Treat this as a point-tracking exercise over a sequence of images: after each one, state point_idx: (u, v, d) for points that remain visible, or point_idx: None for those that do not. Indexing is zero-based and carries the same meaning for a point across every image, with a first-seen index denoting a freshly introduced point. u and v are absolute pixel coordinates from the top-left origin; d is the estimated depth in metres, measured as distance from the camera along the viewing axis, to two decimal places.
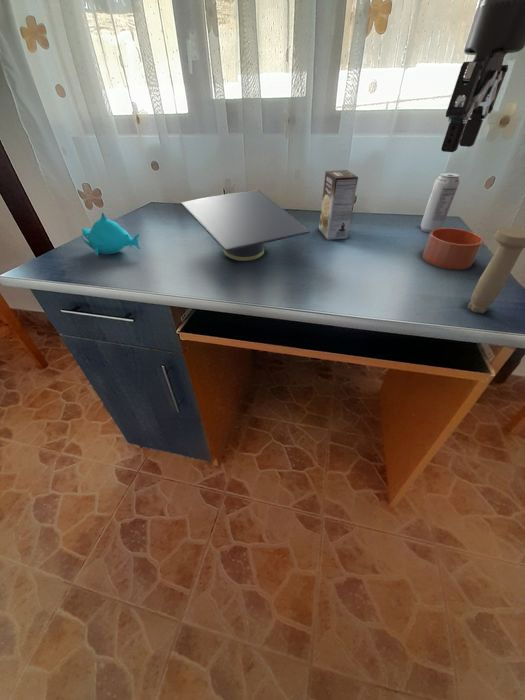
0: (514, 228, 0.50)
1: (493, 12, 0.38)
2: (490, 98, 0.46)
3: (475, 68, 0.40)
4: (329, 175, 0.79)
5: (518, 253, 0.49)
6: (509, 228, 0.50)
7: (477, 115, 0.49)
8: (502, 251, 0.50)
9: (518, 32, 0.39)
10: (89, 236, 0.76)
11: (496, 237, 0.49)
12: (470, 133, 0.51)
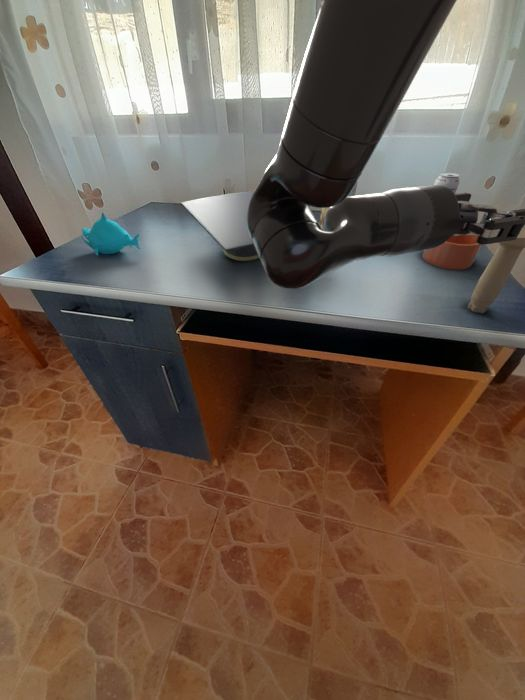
0: None
1: (434, 234, 0.35)
2: None
3: (495, 227, 0.33)
4: None
5: (518, 253, 0.49)
6: None
7: None
8: (502, 251, 0.50)
9: (448, 197, 0.34)
10: (89, 236, 0.76)
11: None
12: None
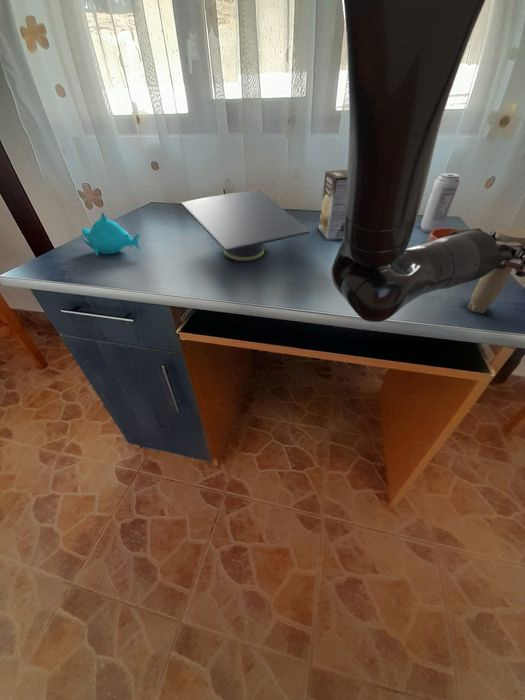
0: (514, 228, 0.50)
1: (479, 271, 0.43)
2: None
3: None
4: (329, 175, 0.79)
5: None
6: (509, 228, 0.50)
7: None
8: None
9: (490, 242, 0.43)
10: (89, 236, 0.76)
11: (496, 237, 0.49)
12: None
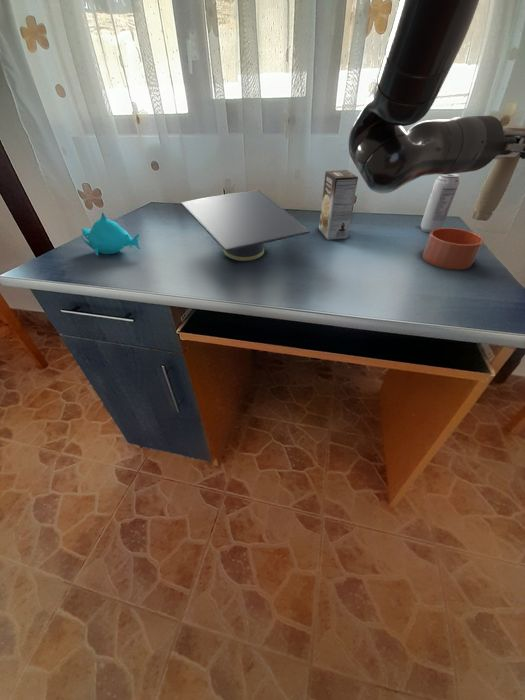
0: (517, 126, 0.52)
1: (486, 151, 0.45)
2: None
3: None
4: (329, 175, 0.79)
5: None
6: (513, 126, 0.52)
7: None
8: None
9: (496, 122, 0.45)
10: (89, 236, 0.76)
11: None
12: None
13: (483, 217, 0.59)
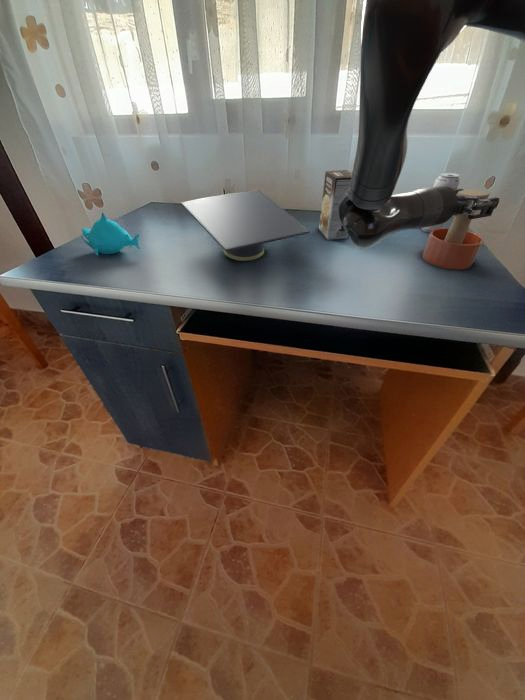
0: (471, 190, 0.66)
1: (443, 214, 0.60)
2: None
3: (478, 209, 0.58)
4: (329, 175, 0.79)
5: None
6: (467, 190, 0.66)
7: None
8: None
9: (450, 192, 0.59)
10: (89, 236, 0.76)
11: None
12: None
13: None
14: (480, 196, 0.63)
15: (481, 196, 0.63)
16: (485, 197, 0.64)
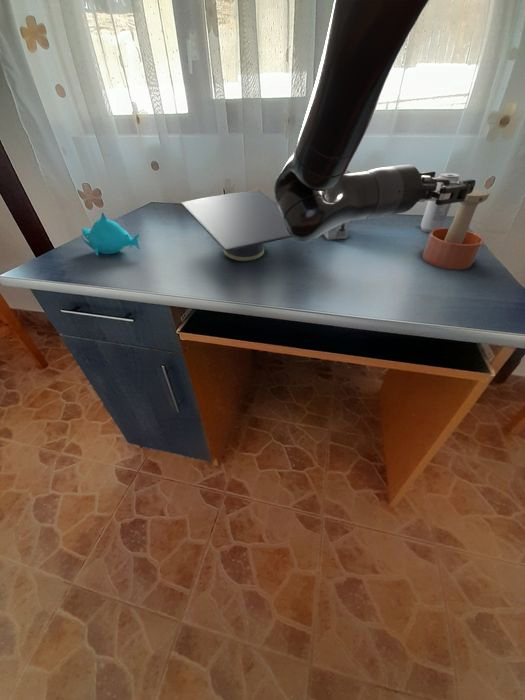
0: None
1: (405, 199, 0.49)
2: None
3: (447, 192, 0.48)
4: None
5: (473, 209, 0.66)
6: None
7: None
8: (462, 207, 0.67)
9: (413, 172, 0.48)
10: (89, 236, 0.76)
11: None
12: None
13: None
14: (480, 196, 0.63)
15: (481, 196, 0.63)
16: (485, 197, 0.64)
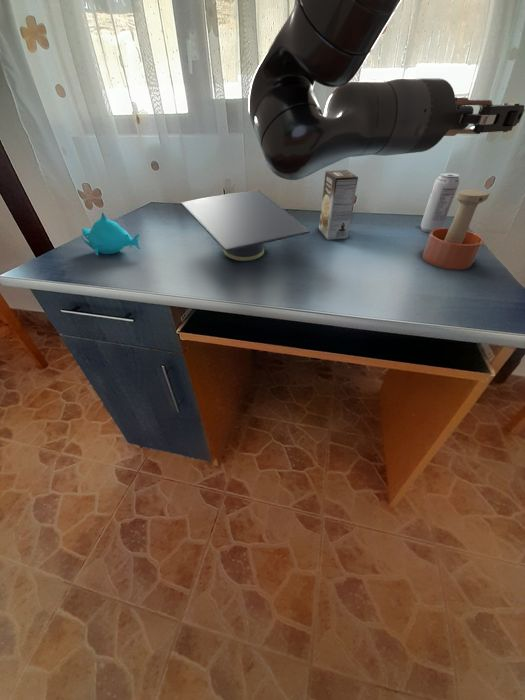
0: (471, 190, 0.66)
1: (432, 124, 0.35)
2: None
3: (491, 112, 0.34)
4: (329, 175, 0.79)
5: (473, 209, 0.66)
6: (467, 190, 0.66)
7: None
8: (462, 207, 0.67)
9: (444, 85, 0.35)
10: (89, 236, 0.76)
11: (457, 197, 0.66)
12: None
13: None
14: (480, 196, 0.63)
15: (481, 196, 0.63)
16: (485, 197, 0.64)
